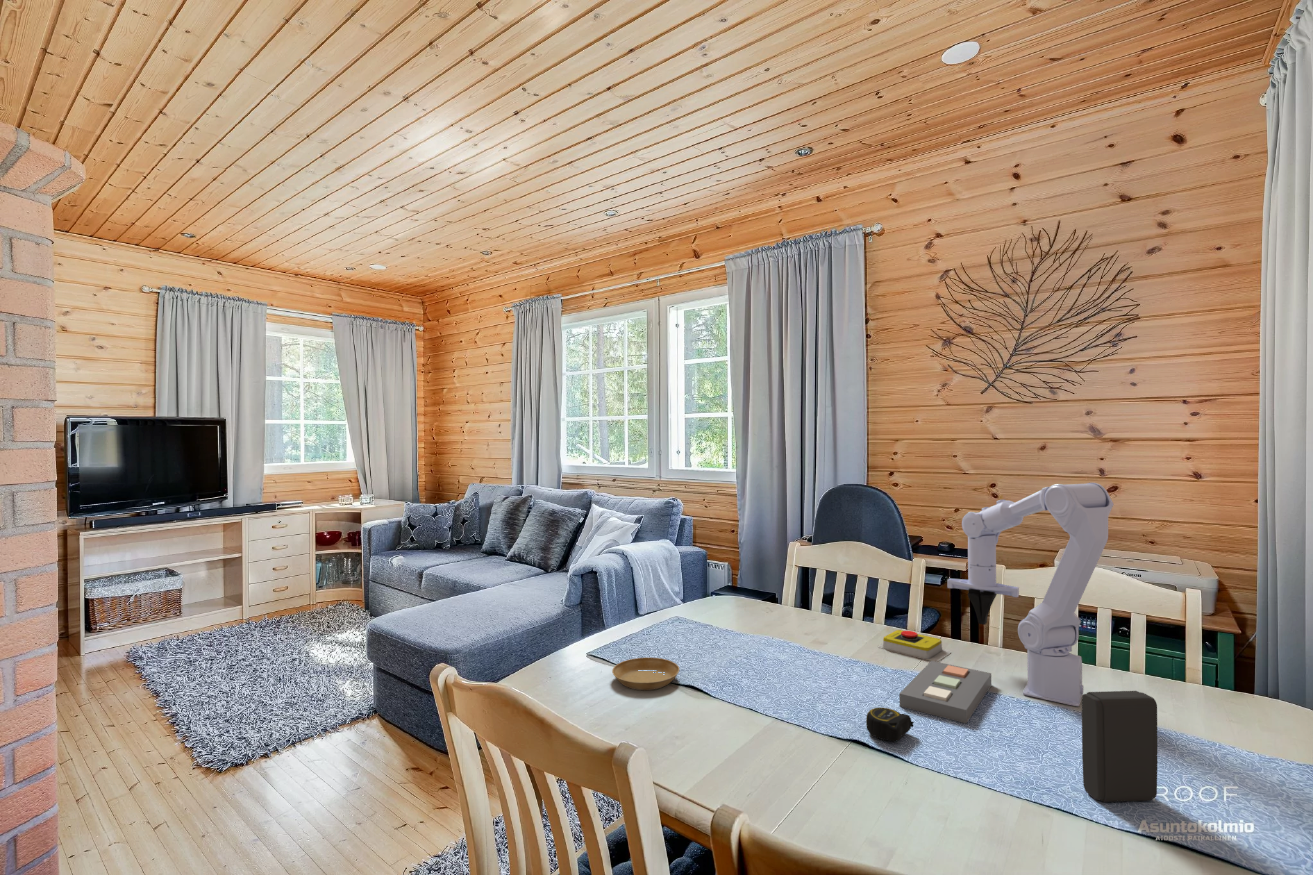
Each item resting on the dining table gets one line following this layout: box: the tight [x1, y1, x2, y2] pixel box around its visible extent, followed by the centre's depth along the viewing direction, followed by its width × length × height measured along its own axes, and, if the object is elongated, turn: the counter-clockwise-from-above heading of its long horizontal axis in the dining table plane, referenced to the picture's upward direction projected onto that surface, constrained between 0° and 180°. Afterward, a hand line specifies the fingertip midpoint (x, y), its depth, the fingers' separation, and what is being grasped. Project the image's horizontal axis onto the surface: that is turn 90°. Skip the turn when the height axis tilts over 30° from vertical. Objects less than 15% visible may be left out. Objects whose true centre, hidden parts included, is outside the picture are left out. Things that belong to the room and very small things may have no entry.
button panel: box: [898, 661, 992, 724], centre depth 126 cm, size 12×22×2 cm, turn 141°
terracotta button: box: [943, 664, 968, 678], centre depth 132 cm, size 4×4×2 cm
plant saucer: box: [611, 657, 680, 691], centre depth 136 cm, size 15×15×3 cm
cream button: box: [924, 686, 951, 701], centre depth 121 cm, size 4×4×2 cm
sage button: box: [934, 675, 960, 689], centre depth 126 cm, size 4×4×2 cm
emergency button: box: [877, 629, 952, 662], centre depth 153 cm, size 9×4×15 cm
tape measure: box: [865, 707, 914, 742], centre depth 110 cm, size 7×7×4 cm
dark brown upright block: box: [1081, 690, 1158, 803], centre depth 91 cm, size 9×4×15 cm, turn 92°
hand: (982, 623), depth 143 cm, fingers closed
